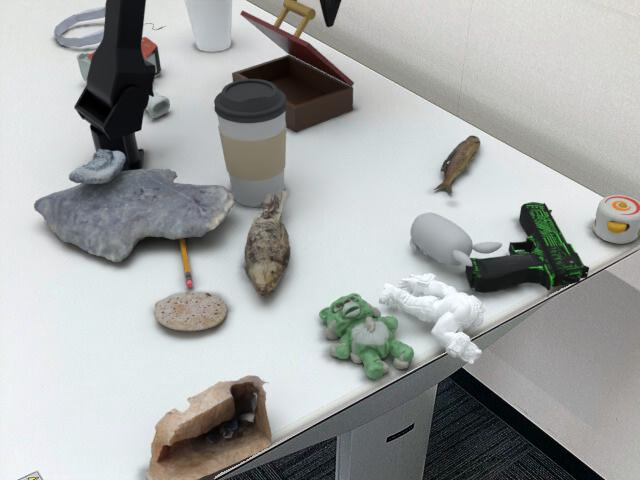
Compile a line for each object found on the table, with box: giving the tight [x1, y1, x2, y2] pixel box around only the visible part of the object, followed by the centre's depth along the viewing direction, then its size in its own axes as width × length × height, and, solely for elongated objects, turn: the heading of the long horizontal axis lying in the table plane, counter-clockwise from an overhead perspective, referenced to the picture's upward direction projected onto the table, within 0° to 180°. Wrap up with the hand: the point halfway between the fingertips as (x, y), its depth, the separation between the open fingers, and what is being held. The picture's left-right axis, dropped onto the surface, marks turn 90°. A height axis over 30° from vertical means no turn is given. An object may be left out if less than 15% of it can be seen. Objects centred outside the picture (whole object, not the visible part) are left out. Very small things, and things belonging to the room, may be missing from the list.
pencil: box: [179, 238, 193, 288], centre depth 94 cm, size 19×1×1 cm, turn 15°
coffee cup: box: [213, 79, 287, 208], centre depth 98 cm, size 9×9×15 cm
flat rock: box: [33, 168, 235, 263], centre depth 95 cm, size 18×5×25 cm
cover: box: [239, 0, 355, 87], centre depth 117 cm, size 12×17×6 cm
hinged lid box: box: [231, 54, 354, 133], centre depth 122 cm, size 12×17×4 cm
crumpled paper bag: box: [145, 374, 273, 480], centre depth 69 cm, size 6×12×8 cm, turn 129°
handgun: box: [464, 201, 590, 294], centre depth 92 cm, size 16×3×15 cm
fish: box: [433, 135, 481, 194], centre depth 107 cm, size 17×4×2 cm, turn 160°
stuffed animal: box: [318, 292, 415, 380], centre depth 80 cm, size 8×12×4 cm
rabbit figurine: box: [409, 212, 503, 267], centre depth 90 cm, size 6×5×12 cm
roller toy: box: [592, 194, 640, 245], centre depth 95 cm, size 4×6×6 cm
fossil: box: [68, 149, 126, 184], centre depth 94 cm, size 8×4×5 cm
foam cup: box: [183, 0, 233, 53], centre depth 135 cm, size 10×9×13 cm
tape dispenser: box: [75, 36, 171, 119], centre depth 124 cm, size 18×5×20 cm
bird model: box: [243, 189, 291, 298], centre depth 91 cm, size 21×6×5 cm, turn 3°
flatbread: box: [154, 291, 228, 332], centre depth 84 cm, size 8×8×1 cm
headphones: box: [53, 3, 166, 48], centre depth 140 cm, size 17×6×20 cm
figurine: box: [378, 272, 486, 366], centre depth 82 cm, size 10×5×12 cm
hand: (310, 17), depth 117 cm, fingers open, 9 cm apart
